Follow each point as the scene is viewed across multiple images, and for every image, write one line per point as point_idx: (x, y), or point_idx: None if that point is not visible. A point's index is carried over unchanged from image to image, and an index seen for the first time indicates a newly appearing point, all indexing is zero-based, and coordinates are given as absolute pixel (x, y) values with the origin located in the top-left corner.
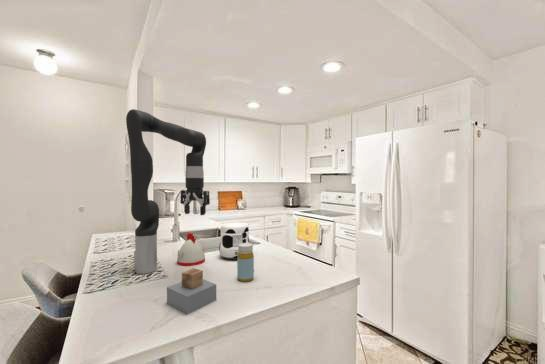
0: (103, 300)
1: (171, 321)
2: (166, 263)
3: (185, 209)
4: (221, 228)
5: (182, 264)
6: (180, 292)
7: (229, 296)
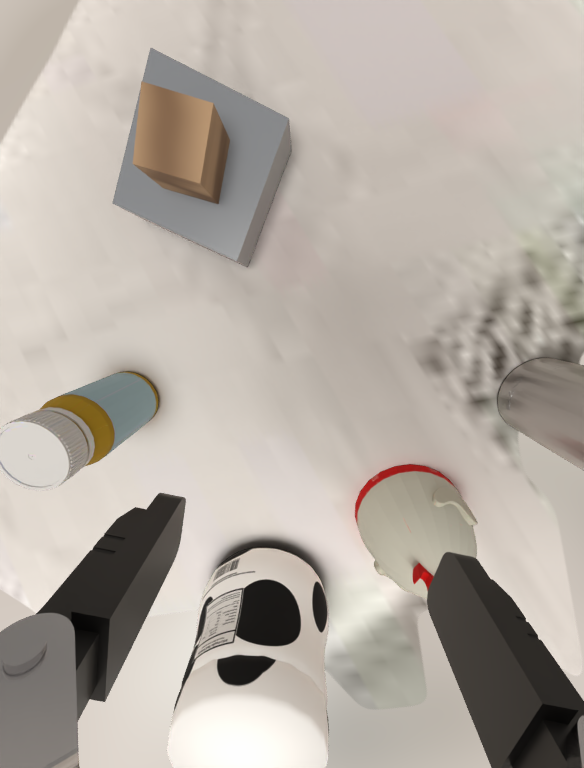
0: (538, 107)
1: (200, 31)
2: (496, 476)
3: (502, 615)
4: (308, 701)
5: (420, 468)
6: (201, 80)
7: (117, 254)
